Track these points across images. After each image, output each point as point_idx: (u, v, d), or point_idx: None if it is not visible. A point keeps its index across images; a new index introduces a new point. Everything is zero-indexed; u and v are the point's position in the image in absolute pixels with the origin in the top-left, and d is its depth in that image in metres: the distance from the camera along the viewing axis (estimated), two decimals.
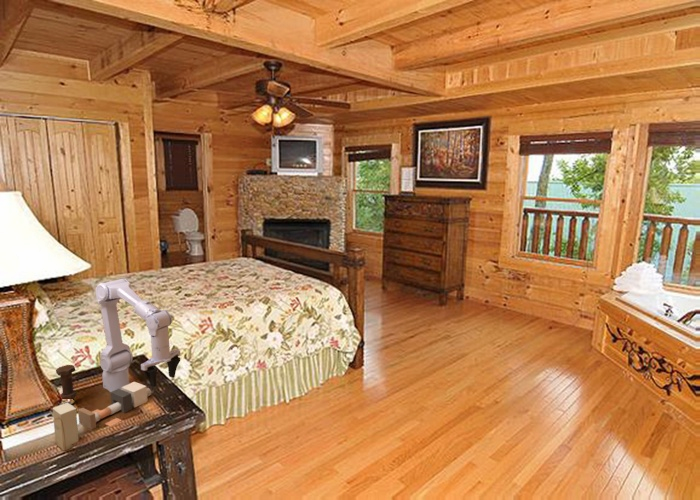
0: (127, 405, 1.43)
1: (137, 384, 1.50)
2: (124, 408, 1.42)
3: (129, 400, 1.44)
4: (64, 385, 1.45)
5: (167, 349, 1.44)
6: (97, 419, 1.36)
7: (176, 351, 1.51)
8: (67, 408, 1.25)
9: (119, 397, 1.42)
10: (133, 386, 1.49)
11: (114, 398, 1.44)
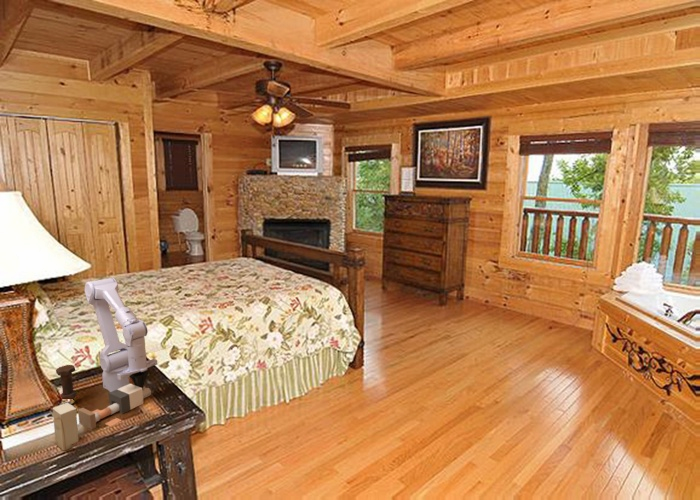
0: (125, 406, 1.43)
1: (133, 386, 1.49)
2: (122, 409, 1.42)
3: (127, 401, 1.43)
4: (64, 385, 1.45)
5: (143, 359, 1.48)
6: (97, 419, 1.36)
7: (153, 360, 1.55)
8: (67, 408, 1.25)
9: (117, 398, 1.42)
10: (128, 388, 1.47)
11: (112, 399, 1.43)
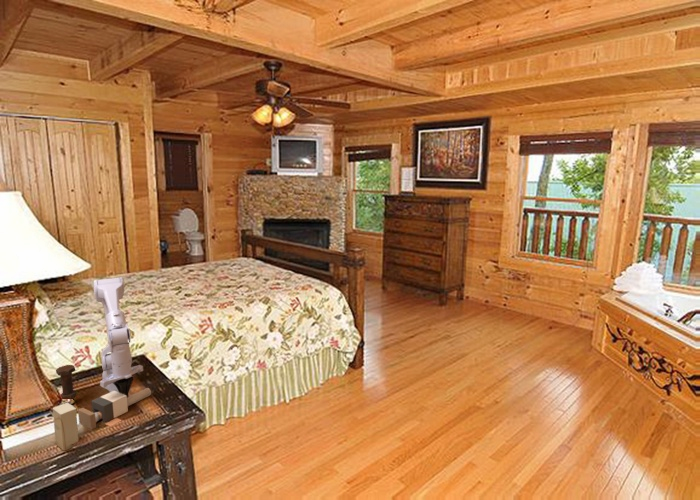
0: (108, 414, 1.37)
1: (117, 393, 1.44)
2: (105, 417, 1.37)
3: (110, 409, 1.38)
4: (64, 385, 1.45)
5: (128, 365, 1.43)
6: (97, 419, 1.36)
7: (138, 366, 1.49)
8: (67, 408, 1.25)
9: (100, 406, 1.36)
10: (112, 395, 1.42)
11: (95, 407, 1.38)
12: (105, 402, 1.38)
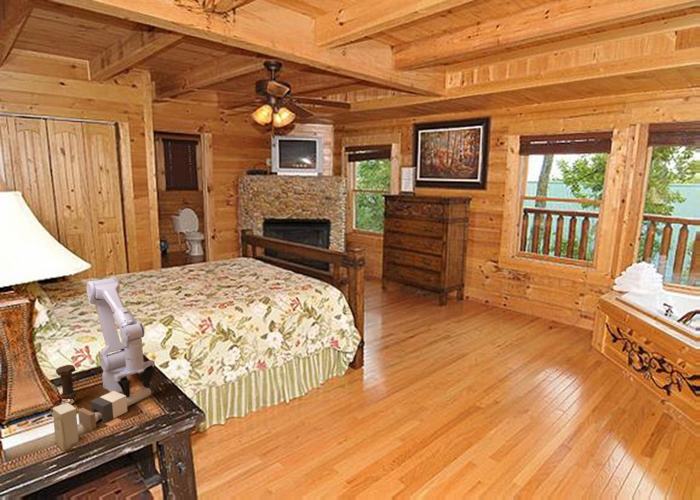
0: (108, 414, 1.37)
1: (116, 393, 1.43)
2: (105, 418, 1.36)
3: (110, 409, 1.38)
4: (64, 385, 1.45)
5: (140, 360, 1.47)
6: (97, 419, 1.36)
7: (150, 361, 1.54)
8: (67, 408, 1.25)
9: (99, 406, 1.36)
10: (112, 395, 1.42)
11: (94, 407, 1.38)
12: (105, 402, 1.38)
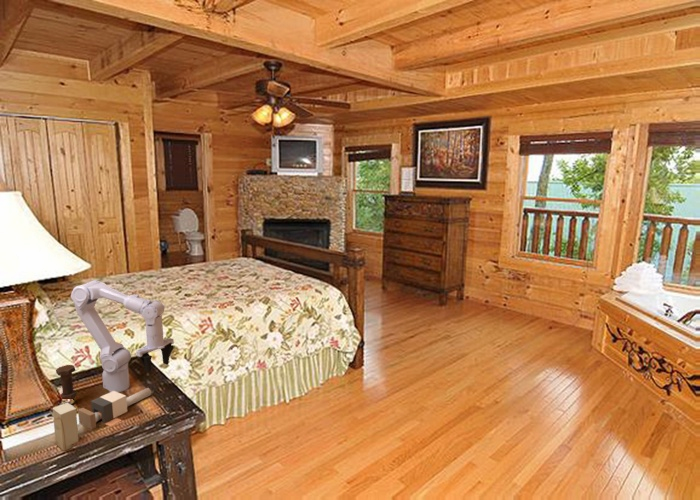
0: (108, 414, 1.37)
1: (116, 393, 1.43)
2: (105, 418, 1.36)
3: (110, 409, 1.38)
4: (64, 385, 1.45)
5: (161, 337, 1.55)
6: (97, 419, 1.36)
7: (169, 339, 1.62)
8: (67, 408, 1.25)
9: (99, 406, 1.36)
10: (112, 395, 1.42)
11: (94, 407, 1.38)
12: (105, 402, 1.38)
